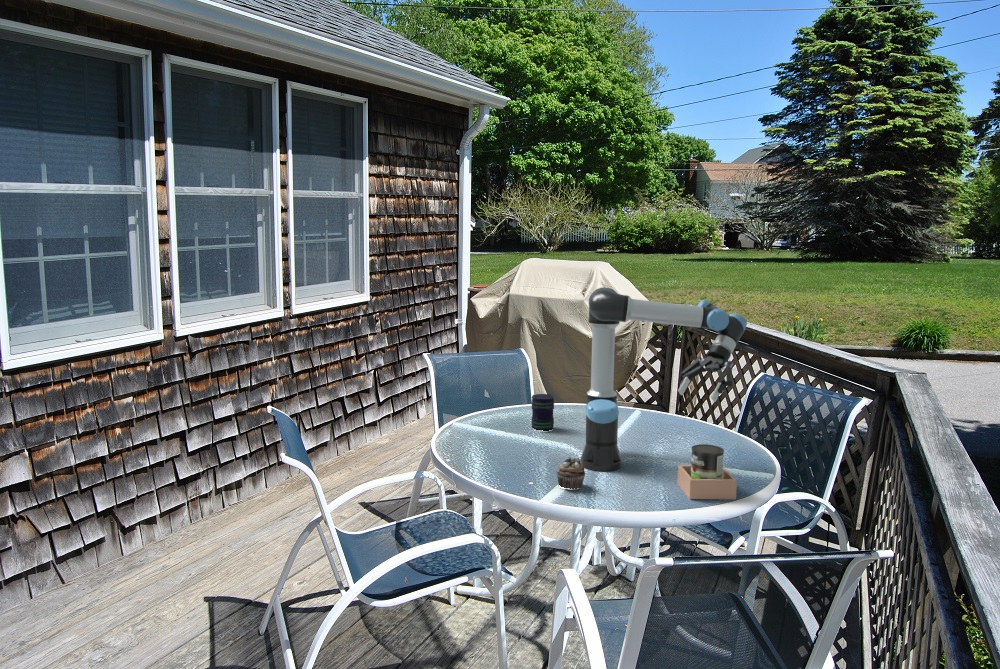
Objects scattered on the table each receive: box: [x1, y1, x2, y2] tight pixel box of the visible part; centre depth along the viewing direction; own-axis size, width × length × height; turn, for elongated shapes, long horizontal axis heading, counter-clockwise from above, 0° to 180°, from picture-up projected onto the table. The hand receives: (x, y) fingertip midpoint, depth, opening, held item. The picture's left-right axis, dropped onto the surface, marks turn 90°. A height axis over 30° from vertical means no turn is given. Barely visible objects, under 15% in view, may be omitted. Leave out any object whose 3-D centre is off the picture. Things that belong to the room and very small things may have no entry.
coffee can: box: [690, 443, 725, 479], centre depth 234 cm, size 10×10×14 cm
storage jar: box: [530, 393, 555, 431], centre depth 310 cm, size 10×10×15 cm
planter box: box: [676, 464, 738, 501], centre depth 235 cm, size 15×15×6 cm
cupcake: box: [556, 457, 586, 489], centre depth 239 cm, size 10×10×10 cm
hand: (696, 396), depth 252 cm, fingers open, 13 cm apart
